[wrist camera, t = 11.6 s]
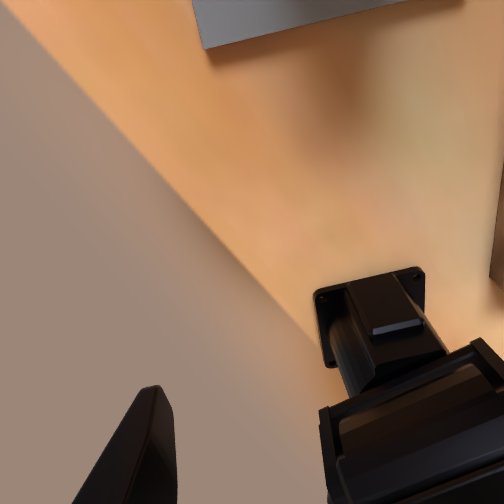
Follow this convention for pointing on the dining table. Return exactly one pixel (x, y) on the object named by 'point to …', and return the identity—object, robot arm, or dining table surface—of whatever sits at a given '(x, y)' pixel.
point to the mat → (267, 16)
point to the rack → (499, 243)
